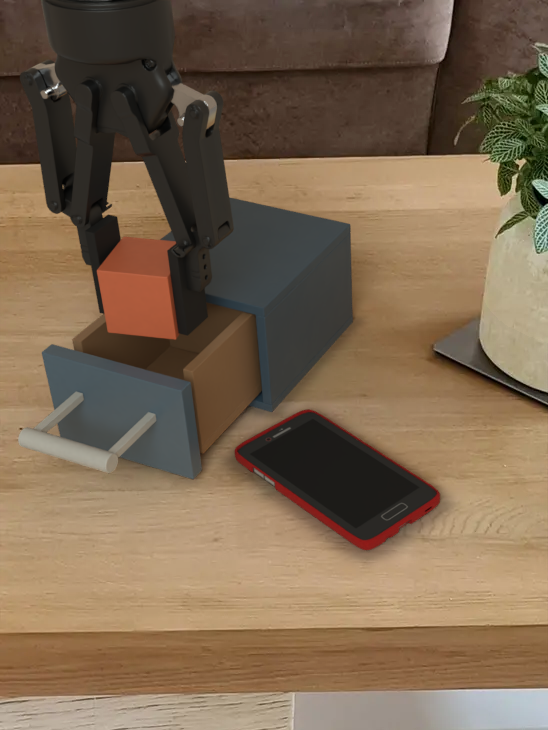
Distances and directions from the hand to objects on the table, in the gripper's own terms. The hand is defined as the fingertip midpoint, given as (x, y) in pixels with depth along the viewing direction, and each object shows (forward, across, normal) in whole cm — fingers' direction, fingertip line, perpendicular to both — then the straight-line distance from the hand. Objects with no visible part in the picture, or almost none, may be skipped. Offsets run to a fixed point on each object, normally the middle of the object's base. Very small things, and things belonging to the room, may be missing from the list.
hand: (153, 314), depth 83 cm
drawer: (+9, 0, +2) cm, 9 cm away
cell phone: (+10, -14, +1) cm, 18 cm away
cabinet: (+10, 0, -12) cm, 16 cm away
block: (0, 0, 0) cm, 0 cm away
